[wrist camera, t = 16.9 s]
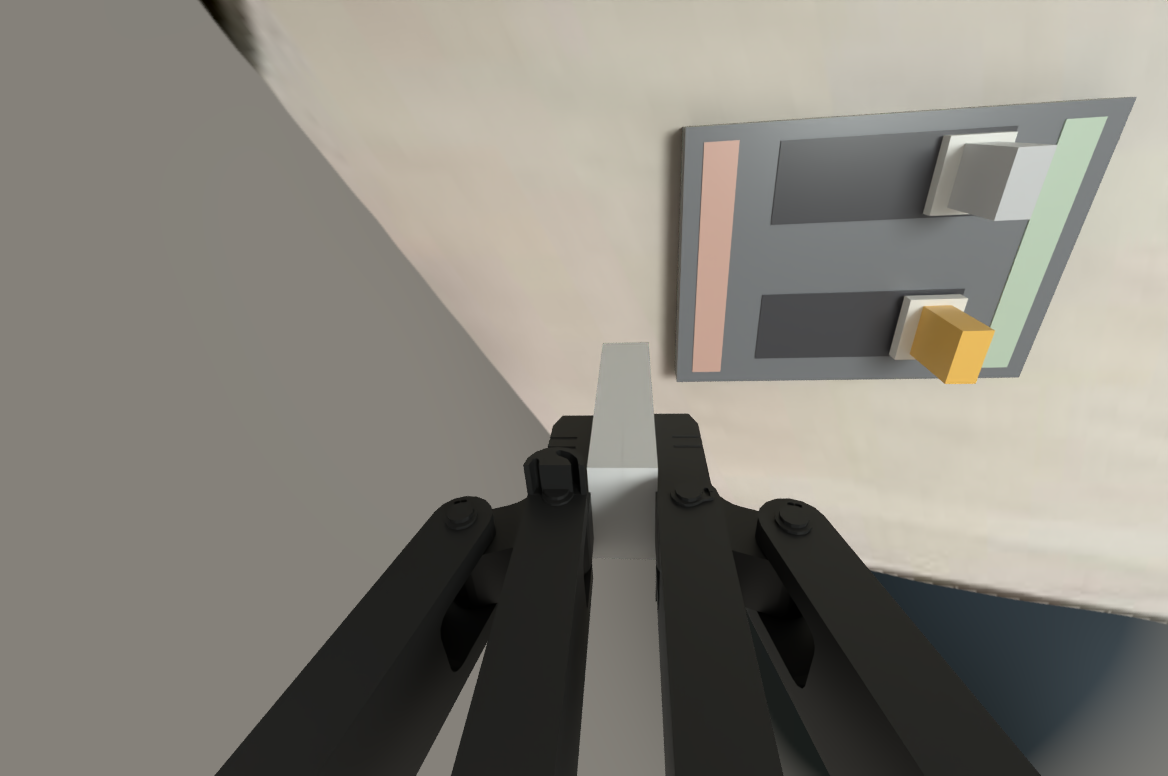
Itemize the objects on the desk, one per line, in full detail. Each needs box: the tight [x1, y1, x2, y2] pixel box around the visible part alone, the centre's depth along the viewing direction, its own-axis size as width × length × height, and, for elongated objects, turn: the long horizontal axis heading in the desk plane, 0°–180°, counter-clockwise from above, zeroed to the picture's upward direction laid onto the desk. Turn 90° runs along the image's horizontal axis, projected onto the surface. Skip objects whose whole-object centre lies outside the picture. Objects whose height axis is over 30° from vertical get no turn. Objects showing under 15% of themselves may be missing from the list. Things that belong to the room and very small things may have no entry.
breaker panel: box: [675, 97, 1136, 382], centre depth 35 cm, size 20×28×8 cm
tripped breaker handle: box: [889, 294, 995, 384], centre depth 36 cm, size 5×4×6 cm
